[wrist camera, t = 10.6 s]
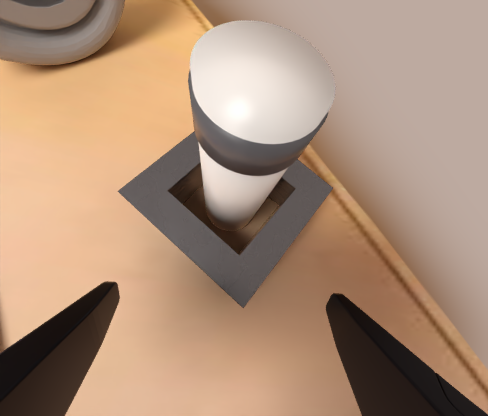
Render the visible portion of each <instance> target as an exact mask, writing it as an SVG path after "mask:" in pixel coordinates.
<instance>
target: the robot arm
mask: <svg viewBox="0 0 488 416" xmlns="http://www.w3.org/2000/svg"><path fill="white" fill-rule="evenodd" d="M119 299H120V295H119V290H118V284H117V283H116V282H108V281H107V282H103V283H102V284H100V285H99V286H97V287H96V288H94V289H93V290H92V291H90V292H89V293H87V294H86V295H84V296H83V297H81V298H80V299H78V300H77V301H76V302H74V303H73V304H71V305H70V306H68V307H67V308H65V309H64V310H63V311H61V312H60V313H58V314H57V315H55V316H54V317H52V318H51V319H49V320H48V321H47V322H45V323H44V324H42V325H41V326H39V327H38V328H36V329H35V330H33V331H32V332H31V333H29V334H28V335H26V336H25V337H23V338H22V339H20V340H19V341H17V342H16V343H15V344H13V345H12V346H10V347H9V348H7V349H6V350H4V351H3V352H2V353H0V416H65V414H66V412H67V411H68V409H69V407H70V405H71V403H72V401H73V399H74V397H75V395H76V393H77V391H78V389H79V387H80V386H81V384H82V382H83V380H84V378H85V376H86V374H87V372H88V370H89V368H90V366H91V364H92V362H93V360H94V359H95V357H96V355H97V353H98V351H99V349H100V347H101V345H102V342H103V340H104V338H105V335H106V333H107V330H108V328H109V325H110V323H111V320H112V318H113V315H114V313H115V310H116V308H117V305H118V303H119ZM326 312H327V316H328V319H329V323H330V326H331V330H332V333H333V337H334V341H335V344H336V347H337V350H338V353H339V356H340V358H341V361H342V364H343V366H344V369H345V372H346V374H347V377H348V380H349V382H350V385H351V388H352V390H353V393H354V395H355V398H356V401H357V403H358V406H359V409H360V411H361V414H362V416H488V414H486V413H485V412H484V411H483V410H481V409H480V408H479V407H478V406H476V405H475V404H474V403H472V402H471V401H470V400H469V399H467V398H466V397H465V396H464V395H463V394H461V393H460V392H459V391H458V390H456V389H455V388H454V387H453V386H452V385H450V384H449V383H448V382H447V381H446V380H444V379H443V378H442V377H441V376H440V375H438V374H437V373H435V372H434V370H432V369H431V368H430V367H429V366H428V365H426V364H425V363H424V362H423V361H422V360H420V359H419V358H418V357H417V356H416V355H414V354H413V353H412V352H411V351H410V350H409V349H407V348H406V347H405V346H404V345H403V344H401V343H400V342H399V341H398V340H397V339H395V338H394V337H393V336H392V335H391V334H389V333H388V332H387V331H386V330H385V329H383V328H382V327H381V326H380V325H379V324H378V323H376V322H375V321H374V320H373V319H372V318H370V317H369V316H368V315H367V314H366V313H364V312H363V311H362V310H361V309H360V308H358V307H357V306H356V305H355V304H354V303H352V302H351V301H350V300H349V299H348V298H347V297H345V296H344V295H343V294H339V293H333V294H332V295H331V296H330V299H329V301H328V303H327V305H326Z"/></svg>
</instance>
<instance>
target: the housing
mask: <svg viewBox="0 0 488 416" xmlns="http://www.w3.org/2000/svg"><path fill="white" fill-rule="evenodd" d="M202 185H203V179H202V170H201V161H200V152H199V143H198V140H197V137H196V134H195V131H194V132H193V133H192V134H190V135H189V136H188V137H186V138H185V139H184V140H183V141H181V142H180V143H179V144H177V145H176V146H175V147H174V148H172V149H171V150H170V151H169V152H167V153H166V154H165V155H163V156H162V157H161V158H160V159H158V160H157V161H156V162H154V163H153V164H152V165H151V166H149V167H148V168H147V169H146V170H144V171H143V172H142V173H140V174H139V175H138V176H137V177H135V178H134V179H133V180H131V181H130V182H129V183H128V184H126V185H125V186H124V187H123V188H121V189H120V190H119V191H118V192H119V193H120V194H121V195H122V196H123V197H124V198H125V199H126V200H128V201H129V202H130V203H131V204H132V205H133V206H134V207H135V208H136V209H137V210H138V211H139V212H140V213H142V214H143V215H144V216H145V217H146V218H147V219H148V220H149V221H150V222H151V223H152V224H153V225H154V226H155V227H157V228H158V229H159V230H160V231H161V232H162V233H163V234H164V235H165V236H166V237H167V238H168V239H169V240H171V241H172V242H173V243H174V244H175V245H176V246H177V247H178V248H179V249H180V250H181V251H182V252H183V253H185V254H186V255H187V256H188V257H189V258H190V259H191V260H192V261H193V262H194V263H195V264H196V265H197V266H198V267H200V268H201V269H202V270H203V271H204V272H205V273H206V274H207V275H208V276H209V277H210V278H211V279H212V280H214V281H215V282H216V283H217V284H218V285H219V286H220V287H221V288H222V289H223V290H224V291H225V292H226V293H227V294H229V295H230V296H231V297H232V298H233V299H234V300H235V301H236V302H237V303H238V304H239V305H240V306H241V307H243V308H244V307H245V305H246V304H247V302H248V301H249V300H250V298H251V297H252V296H253V294H254V293H255V292H256V290H257V289H258V288H259V286H260V285H261V284H262V282H263V281H264V280H265V278H266V277H267V276H268V274H269V273H270V272H271V270H272V269H273V268H274V266H275V265H276V264H277V262H278V261H279V260H280V258H281V257H282V256H283V254H284V253H285V252H286V250H287V249H288V248H289V246H290V245H291V244H292V242H293V241H294V240H295V238H296V237H297V236H298V234H299V233H300V232H301V230H302V229H303V228H304V226H305V225H306V224H307V222H308V221H309V220H310V218H311V217H312V216H313V214H314V213H315V212H316V210H317V209H318V208H319V206H320V205H321V204H322V202H323V201H324V200H325V198H326V197H327V196H328V194H329V193H330V192H331V190H332V189H333V188H332V187H331V186H330V185H329V184H327V183H326V182H325V181H324V180H322V179H321V178H320V177H319V176H317V175H316V174H315V173H314V172H312V171H311V170H310V169H309V168H307V167H306V166H305V165H304V164H303V163H301V162H300V161H299V160H298V159H297V160H296V161H295V162H294V163H293V164H292V165H291V166H289V167H288V169H287V170H286V171H285V173H284V174H283V176H282V177H281V178H280V180H279V181H278V183H277V184H276V185H275V187H274V188H273V190H272V191H271V192H270V194H269V195H268V196H269V197H270V198H271V199H272V200H273V201H275V202H276V203H277V204H278V205H279V207H278V208H277V209H276V210H275V211H274V212H273V214H272V215H271V216H270V217H269V218H268V220H267V221H266V222H265V223H264V224H263V225H262V227H261V228H260V229H259V230H258V231H257V232H256V234H255V235H254V236H253V237H252V238H251V240H250V241H249V242H248V243H247V244H246V245H245V247H244V248H243V249H242V250H241V251H240V253H239V254H237V253H236V252H235V251H234V250H233V249H232V248H231V247H229V246H228V245H227V244H226V243H225V242H224V241H223V240H222V239H221V238H219V237H218V236H217V235H216V234H215V233H214V232H213V231H212V230H211V229H209V228H208V227H207V226H206V225H205V224H204V223H203V222H202V221H201V220H199V219H198V218H197V217H196V216H195V215H194V214H193V213H192V212H191V211H189V210H188V209H187V208H186V207H185V206H184V205H183V203H184V202H185V201H186V200H187V199H188V198H189V197H190V196H191V195H192V194H193V193H194V192H196V191H197V190H198V189H199V188H200V187H201V186H202Z"/></svg>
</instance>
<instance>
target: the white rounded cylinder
mask: <svg viewBox="0 0 488 416" xmlns="http://www.w3.org/2000/svg"><path fill="white" fill-rule="evenodd" d="M188 84H189V91H190V99H191V107H192V114H193V122H194V130H195V134H196V137H197V140H198V143H199V152H200V161H201V170H202V179H203V188H204V197H205V206H206V213H207V216H208V218H209V220H210V221H211V222H212V223H213V224H214V225H215V226H216V227H218V228H220V229H222V230H226V231H236V230H239V229H241V228H243V227H245V226H246V225H247V224H248V223H249V222H250V220H251V219H252V218H253V216H254V215H255V213H256V212H257V211H258V209H259V208H260V206H261V205H262V204H263V202H264V201H265V199H266V198H267V197H268V195H269V194H270V192H271V191H272V190H273V188H274V187H275V185H276V184H277V183H278V181H279V180H280V178H281V177H282V176H283V174H284V173H285V171H286V170H287V169H288V167H289V166H291V165H292V164H293V163H294V162H295V161H296V160H297V159H298V157H299V156H300V155H301V153H302V152H303V151H304V149H305V148H306V147H307V145H308V144H309V143H310V141H311V140H312V139H313V137H314V136H315V134H316V133H317V132H318V130H319V129H320V127H321V126H322V125H323V123H324V122H325V120H326V118H327V115H328V111H329V109H330V108H331V106H332V104H333V101H334V98H335V90H336V87H335V79H334V75H333V73H332V70H331V68H330V66H329V64H328V63H327V61H326V59H325V58H324V57H323V55H322V54H321V53H320V52H319V51H318V50H317V49H316V48H315V47H314V46H313V45H312V44H311V43H310V42H308V41H307V40H306V39H304V38H303V37H301V36H300V35H298V34H296V33H294V32H292V31H290V30H288V29H286V28H283V27H281V26H278V25H275V24H271V23H267V22H261V21H251V20H242V21H233V22H229V23H224V24H221V25H219V26H216V27H214V28H212V29H210V30H209V31H208V32H206V33H205V34H204V35H203V36H202V37H201V38H200V39H199V40H198V41H197V43H196V44H195V46H194V48H193V50H192V53H191V58H190V71H189V78H188Z"/></svg>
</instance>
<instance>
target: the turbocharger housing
mask: <svg viewBox="0 0 488 416" xmlns="http://www.w3.org/2000/svg"><path fill="white" fill-rule="evenodd" d="M124 2H125V0H0V59H2V60H6V61H12V62H17V63H23V64H31V65H59V64H66V63H71V62H75V61H78V60H81V59H83V58H86V57H88V56H90V55H91V54H93V53H95V52H96V51H98V50H99V49H100V48H101V47H102V46H104V45H105V44H106V42H107V41H108V40H109V39H110V38H111V36H112V35H113V33H114V32H115V30H116V28H117V26H118V24H119V21H120V18H121V15H122V12H123V8H124Z"/></svg>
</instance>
